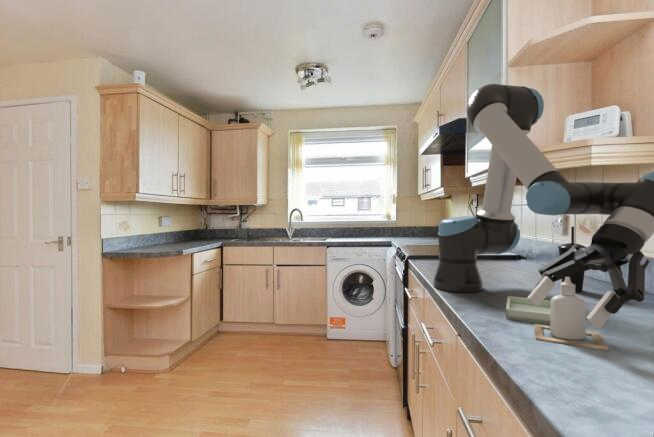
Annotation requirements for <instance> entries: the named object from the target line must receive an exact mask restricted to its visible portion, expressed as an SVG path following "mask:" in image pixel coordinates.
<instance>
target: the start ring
mask: <svg viewBox="0 0 654 437" xmlns="http://www.w3.org/2000/svg"><path fill="white" fill-rule="evenodd" d="M533 327H534V335H535V339H536V340H539V341H544V342H551V343H557V344H562V345H563V344H564V345H567V346H568V345H570V346H575V347H580V346H582V347H581V348H587V347H588V349H593V350H600V351H607V352H609V351H610V348H609V347H608V346H607V344H606V343H605V341H604V340H603V338H602V336H601V335H600V334H599V332H595V331H589V330H586V335H587V336H591V337H592V339H593V341H594V342H595V344H592V343H586V342H579V341H575V340H568V339H560V338H553V337H548V336H547V337H546V336H544V332H543V329H546V330H550V325H547V324H540V323H534V324H533Z"/></svg>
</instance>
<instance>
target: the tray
mask: <svg viewBox="0 0 654 437" xmlns="http://www.w3.org/2000/svg"><path fill="white" fill-rule="evenodd" d="M550 305H551V299H549V300H548V299H543V301H542V302H541V303H540V304H539V305H538V307H536V306H534V305H533V304H532V303H531V302H530V301H529V299H528V298H527V297H521V296H511V295H510V296H509V295H507V297H506V305H505V306H506V307H505V319H507V320H513V321H514V320H515V321H521V322H527V323H534V324H541V325H548V326H550Z"/></svg>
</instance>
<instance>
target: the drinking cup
mask: <svg viewBox="0 0 654 437" xmlns="http://www.w3.org/2000/svg"><path fill="white" fill-rule="evenodd" d="M570 228H571V229H570V230H571V231H570V232H571V233H570V234H571V238H570V239H571V242H567V243H563V244H561V245H557V249H558V257H559V256H561V255H562V254H564V253H566V252H567V251H568V250H569V249H570V248H571V247H572V246H573V245H578V246H579V247H580V248H584V249H585V248H587V247H588V246H585V245H583V244H580V243H577V242H575V226H571V227H570ZM581 262H582V263H583V264H584V265H586V264H585V263H584V259H583V260H581ZM585 272H586V271H580V272H577V273H575V274H572V275H570V276H568V277H570V280H571V283H572V284H574V285H575V293H581V292H583V287H584V282H585V280H584V279H585ZM564 281H565V278H563V279H561V283H563V282H564Z"/></svg>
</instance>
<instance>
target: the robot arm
mask: <svg viewBox="0 0 654 437" xmlns="http://www.w3.org/2000/svg"><path fill="white" fill-rule="evenodd" d="M544 109H545V103H544V98H543V96H542V95H541V93H540V92H539V91H538V90H536V89H535V88H531V87H527V86H523V85H522V86H520V85H510V84H509V85H507V84H499V83H489V84H486V85H483V86H481V87H479V88H478V89H476V90H475V91H474V92H473V93H472V95H471V96H470V97H469V99H468V100H467V104H466V115H467V119H468V121H469V123H470V124H471V126H472V128H474V130H475V131H477V132H478V133H482V134H483V136H485V138H486V139H487V140H488V142H489V143H490V144H491V149H490V156H489V161H488V167H487V168H488V169H487V173H486V174H487V175H486V181H485V189H484V194H483V200H482V207H481V209H480V210H478V211H477V212H476V214H475V216H474V215H467V216H466V215H465V216H464V215H463V216H455V217H454V216H453V217H449V218H444V219H441V221H440V222H439V224H438V230H437V231H438V232H437V234H438V265H437V268H436V270H435V271H436V272H435V274H434V277H433V287H434V288H437V289H439V290H442V291H446V292H455V293H476V292H481V291H482V290H483V288H484V287H483V286H484V285H483V284H484V283H483V279H482V276H481V274H480V271H479V267H478V266H477V255H479V256H480V255H492V254H493V255H500V254H505V253H509V252H511V251H512V250H514V249H515V248H516V247H517V245H518V244H519V241H520V238H521V229H520V228H519V225H518V224H517V223H516V221H515V219H516V217H515V215H514V214H513V213H512V206H513V200H514V195H515V188H516V182H517V179H518V180H519V182H521V184H522V185H523V186H524V188H525V189H526V190H527V191H526V194H525V200H526V205H527V207H528V209H529V210H530V211H531V212H532V213H534V214H538V215H543V216H561V215H605V216H608V217H607V218H606V219H605V220H604V221H603V223H602V225H601V226H600V227H599V228H598V229H597V230H596V232H595V233H594V234H592V237H591V244H590V245H589V246H586V247H587V248H585V249H584V248H580V247H579V246H578V245H573V246H572V247H571V248H570V249H569V250H568V251H567V252H566V253H564V254H562V255H561V256H559V255H558V257H556V258H555V259H553V260H551V261H549V262H548V263H547V264H545V265H543V266H542V267H540V268H539V269H538V271H537V272H538V273H539V274H540V276H541V278H540V279H539V280H538V282H537V283H536V285H535V286H534V288H533V290H532V291H531V292H530V294H529V295H528V296H527V297H526V298H528V299H529V301H530V302H531V303H532V304H533V305H534V306H536V307H538V305H539V304H540V303H541V302H542V301H543V300H545V298H546V297H547V296H549V293H550V292H551V291H552V290H553V289H554V288H555V286H556V284H555V283H556V282H557V281H560V280H562V279H563V278H565V277H568V276H570V275H572V274H575V273H577V272H580V271H585V272H587V271H590V270H591V271H601V272H603V273H607V272H608V274H609V278H610V282H611V286H612V287H611V290H612V291H611V290H607V292H605V294H604V295H603V296H602V297H601V299H600V300H599V301H598V302H597V303H596V304H595V306H594V307H593V308H592V310H591V311H590V312H589V314H587V316H586V319H587V321H589V323H590V324H591V325H592V326H593V327H594V328H595V329H598V330H600V328H602V327H603V325H604V324H605V323H606V322H607V321H608V319H609V318H610V316H611V315H615V314H617V313H618V312H619V311H620V309H621V308H622V307H623V306H624V304H625V303H626V302H627V303H628V302H630V301H636V302H638V303H641V302H644V301H645V288H646V287H645V285H646V284H645V282H646V269H647V267H648V265H649V264H650V260H649V259H648V258H647V257H646V256H645V254H644V253H643V252H642V251H641V250H642V249H643V248H644V246H645V244H647V243H648V241H649V239H651V237H652V236H653V235H654V171H651V172H648V173H645V174H643V176H641V177H640V178H639V179H638V180H637V181H636V182H632V181H629V182H628V181H627V182H626V181H625V182H602V181H601V182H598V181H597V182H595V181H584V182H583V181H580V182H579V181H578V182H577V181H569V180H568V179H567V178H566V177H565V176H564V175H563V174H562V173H561V172H560V171H559V170H558V169H557V168H556V166H555V165H554V164H553V163H552V162H551V161H550V160H549V159H548V157H546V156H545V154H544V153H543V151H541V150H540V148H538V146H537V145H536V143H534V142H533V141H532V140H531V138H529V137H528V135H529V134H530V133H531V129H532V127H533V126H534V125H535V124H537V123H538V120H540V119H541V118H542V115H543V113H544ZM583 259H584V263H585V265H584V264H583V263H582V262H581V260H583ZM627 264H628V274H627V284H626V281H625V278H624V277H623V276H624V273H623V271H622V268H621V267H622V266H623V265H624V266H625V265H627Z"/></svg>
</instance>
